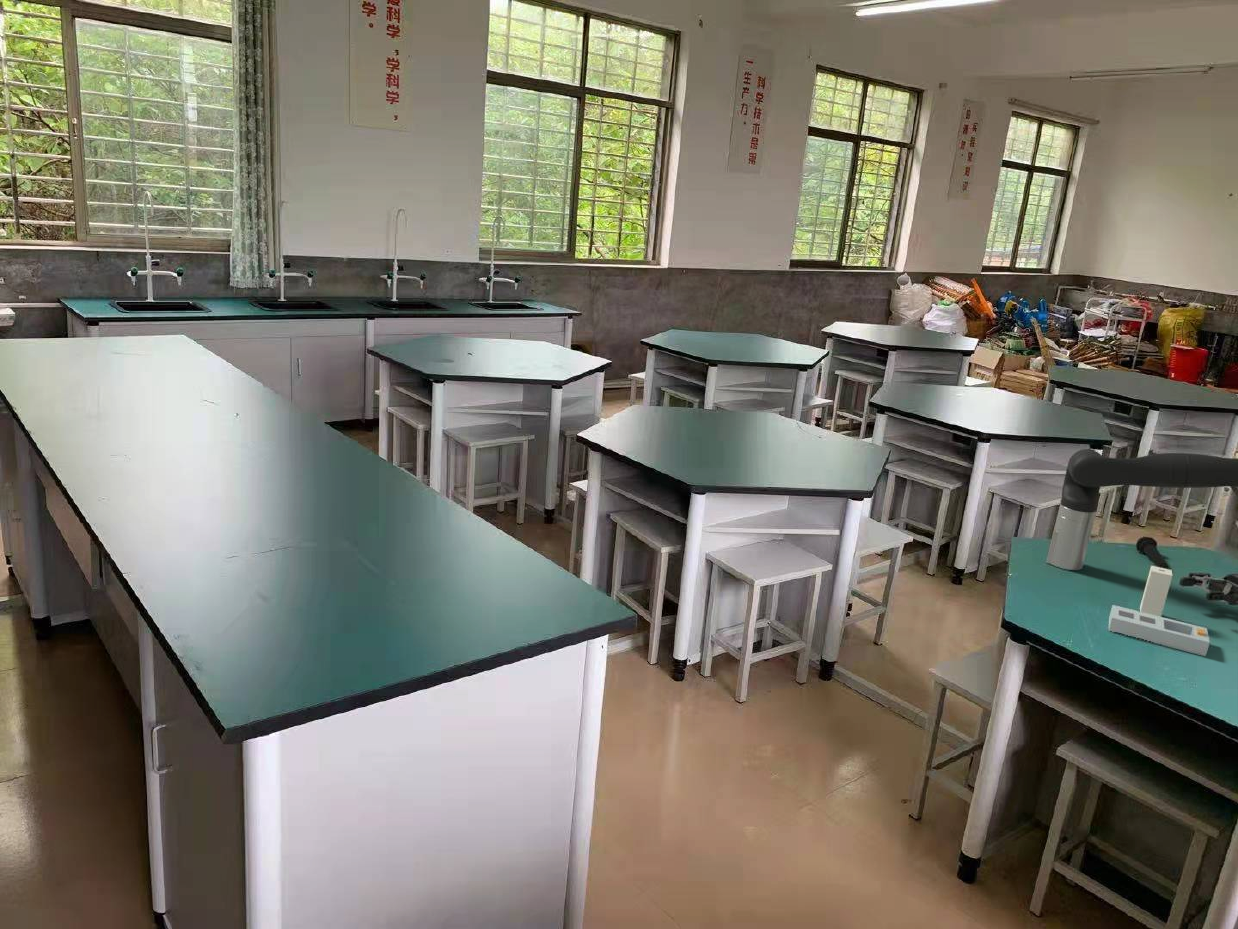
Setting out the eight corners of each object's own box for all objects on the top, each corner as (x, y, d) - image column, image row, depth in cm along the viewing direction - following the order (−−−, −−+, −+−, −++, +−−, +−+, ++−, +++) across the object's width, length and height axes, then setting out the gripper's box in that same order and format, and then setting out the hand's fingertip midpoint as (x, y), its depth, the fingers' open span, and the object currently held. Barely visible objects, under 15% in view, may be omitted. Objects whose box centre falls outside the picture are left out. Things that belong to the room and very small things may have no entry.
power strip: (1108, 631, 217) (1112, 615, 216) (1109, 617, 225) (1113, 602, 224) (1205, 656, 208) (1210, 640, 207) (1202, 641, 216) (1207, 626, 215)
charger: (1139, 615, 228) (1151, 570, 225) (1139, 609, 232) (1151, 565, 228) (1159, 620, 226) (1172, 575, 223) (1159, 614, 230) (1171, 569, 226)
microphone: (1171, 585, 259) (1145, 552, 277) (1184, 569, 256) (1157, 537, 275) (1154, 578, 259) (1129, 545, 277) (1166, 562, 256) (1140, 530, 275)
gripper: (1228, 563, 238) (1176, 563, 235) (1276, 586, 225) (1221, 586, 221) (1220, 590, 240) (1168, 590, 237) (1267, 614, 227) (1212, 615, 224)
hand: (1194, 588), depth 229 cm, fingers open, 8 cm apart
